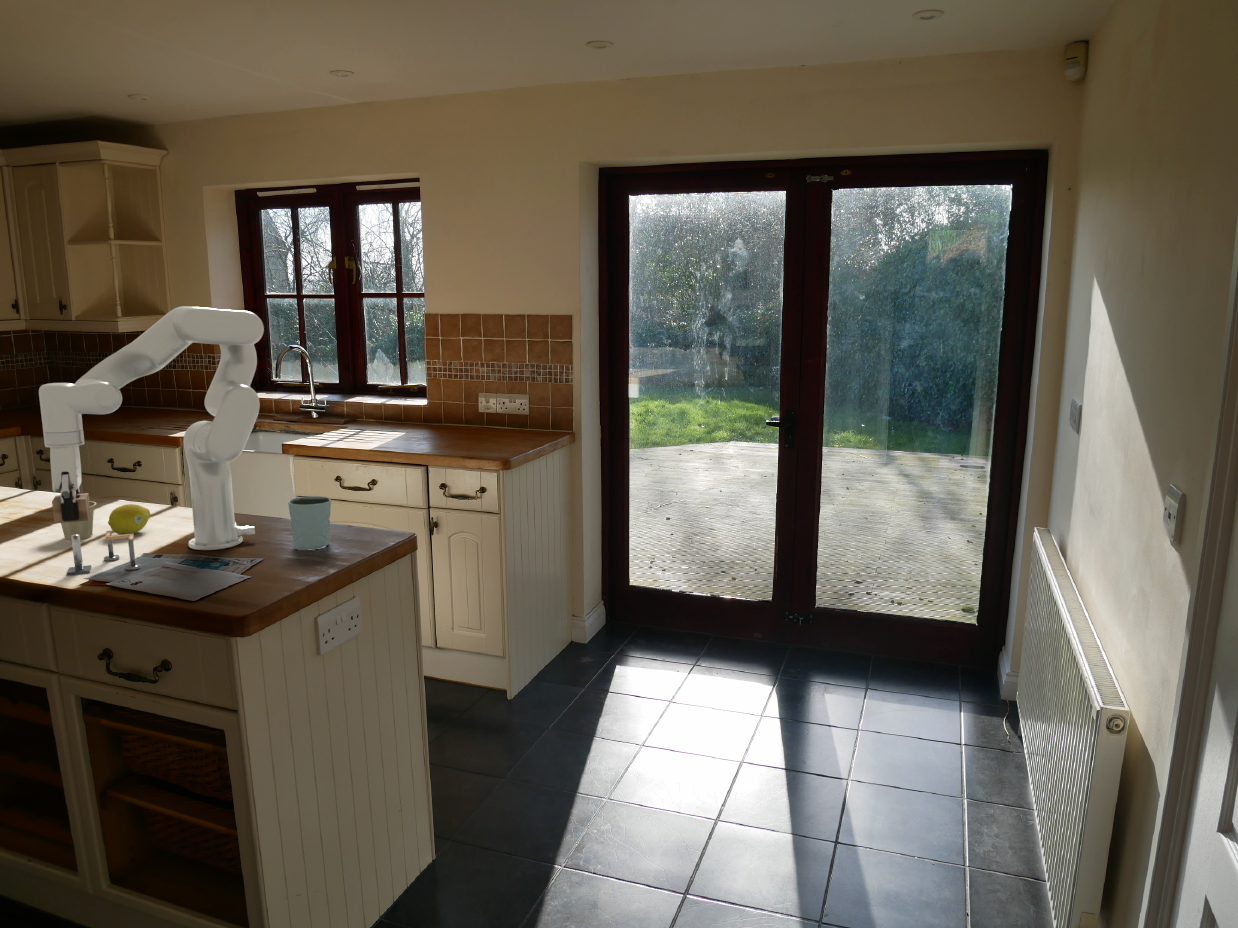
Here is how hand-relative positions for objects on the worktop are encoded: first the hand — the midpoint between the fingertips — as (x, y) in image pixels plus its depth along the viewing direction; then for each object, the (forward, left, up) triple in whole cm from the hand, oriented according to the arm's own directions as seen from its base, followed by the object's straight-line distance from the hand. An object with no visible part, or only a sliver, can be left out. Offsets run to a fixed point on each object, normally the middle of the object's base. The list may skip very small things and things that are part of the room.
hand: (72, 515), depth 198 cm
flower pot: (+3, -34, -13) cm, 36 cm away
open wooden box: (0, 0, -1) cm, 1 cm away
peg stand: (0, 0, -13) cm, 13 cm away
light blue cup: (-51, 0, -13) cm, 53 cm away
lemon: (-9, -32, -13) cm, 35 cm away
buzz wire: (-8, -3, -13) cm, 16 cm away
